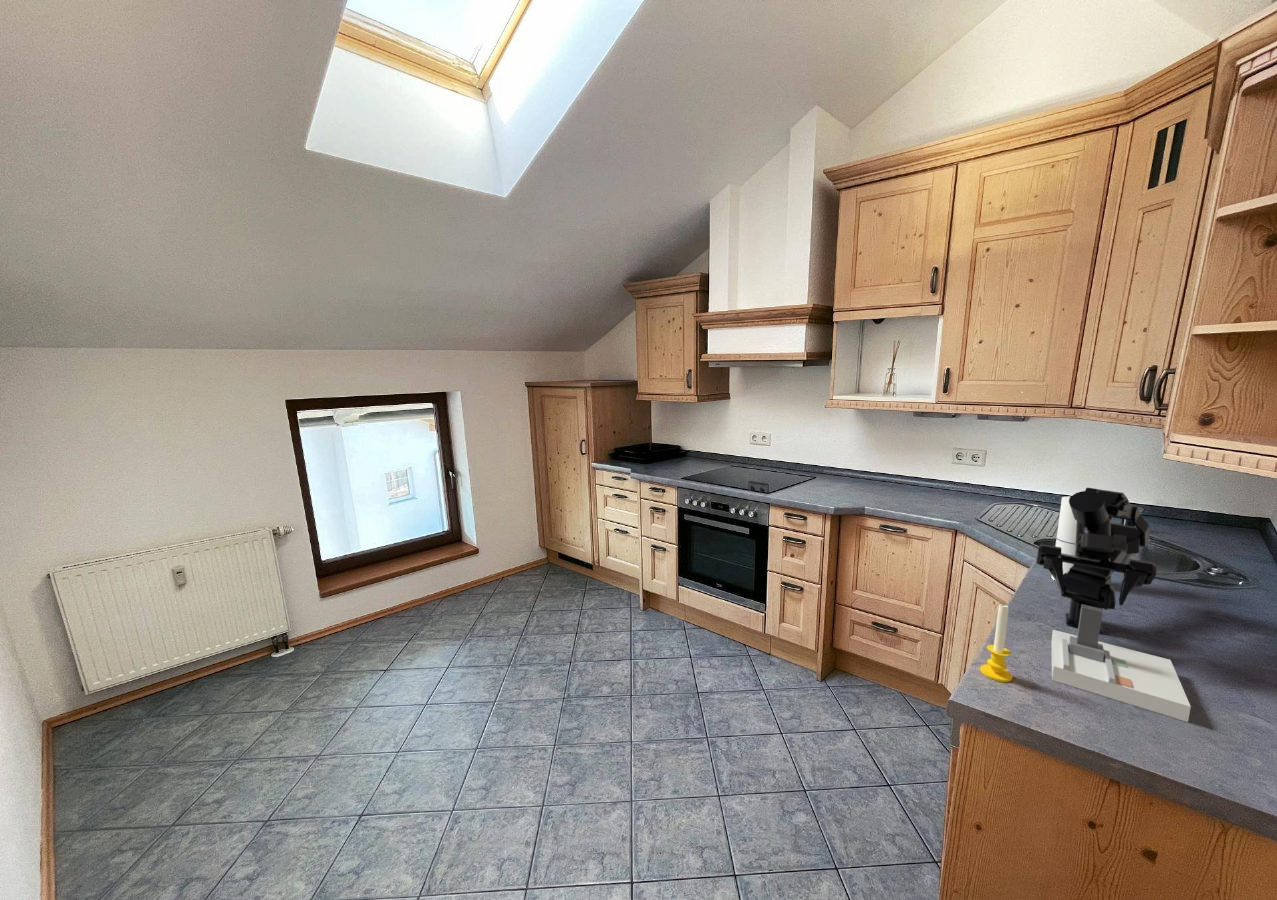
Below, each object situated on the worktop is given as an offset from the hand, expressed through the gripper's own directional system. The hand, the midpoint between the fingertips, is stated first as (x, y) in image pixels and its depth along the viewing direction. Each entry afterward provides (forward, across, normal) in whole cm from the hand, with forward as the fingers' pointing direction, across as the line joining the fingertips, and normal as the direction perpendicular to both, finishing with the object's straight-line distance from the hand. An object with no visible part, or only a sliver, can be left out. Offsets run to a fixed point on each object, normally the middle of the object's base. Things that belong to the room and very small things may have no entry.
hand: (1091, 598), depth 101 cm
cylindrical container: (-24, -1, +42) cm, 48 cm away
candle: (+24, -14, -6) cm, 29 cm away
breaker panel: (+15, +4, +3) cm, 15 cm away
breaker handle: (+12, 0, +2) cm, 12 cm away
